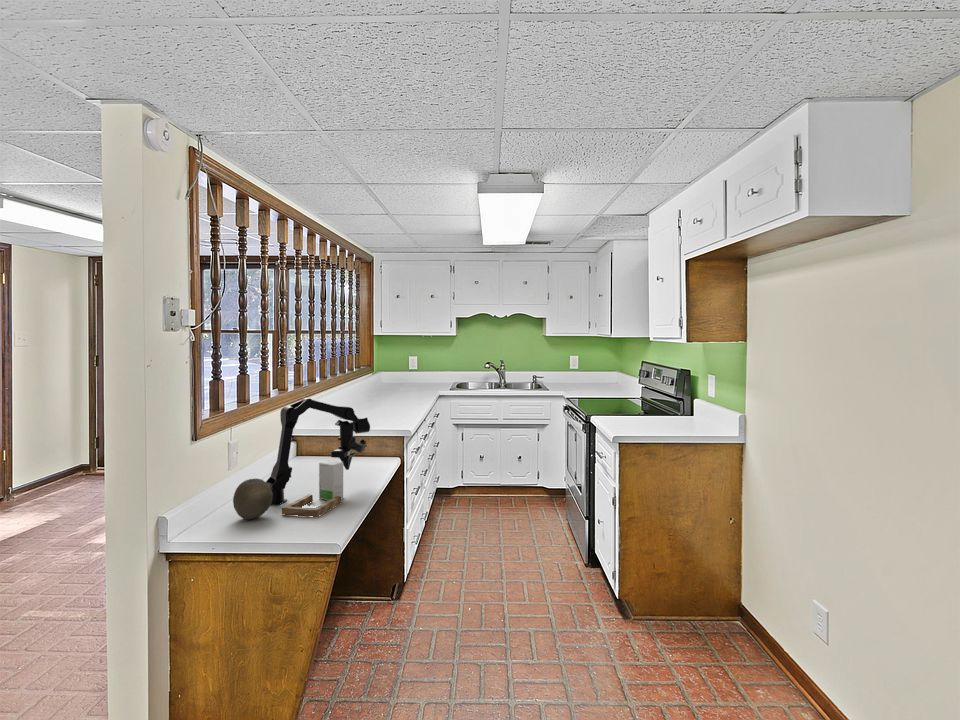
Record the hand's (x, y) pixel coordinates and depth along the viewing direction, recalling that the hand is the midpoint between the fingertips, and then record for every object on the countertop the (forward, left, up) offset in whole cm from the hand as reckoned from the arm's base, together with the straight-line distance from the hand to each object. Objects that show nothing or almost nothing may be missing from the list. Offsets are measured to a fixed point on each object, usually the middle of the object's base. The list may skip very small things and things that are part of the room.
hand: (347, 469), depth 272 cm
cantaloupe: (-46, +16, -9) cm, 49 cm away
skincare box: (-15, 0, -9) cm, 18 cm away
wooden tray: (-30, 0, -9) cm, 31 cm away
